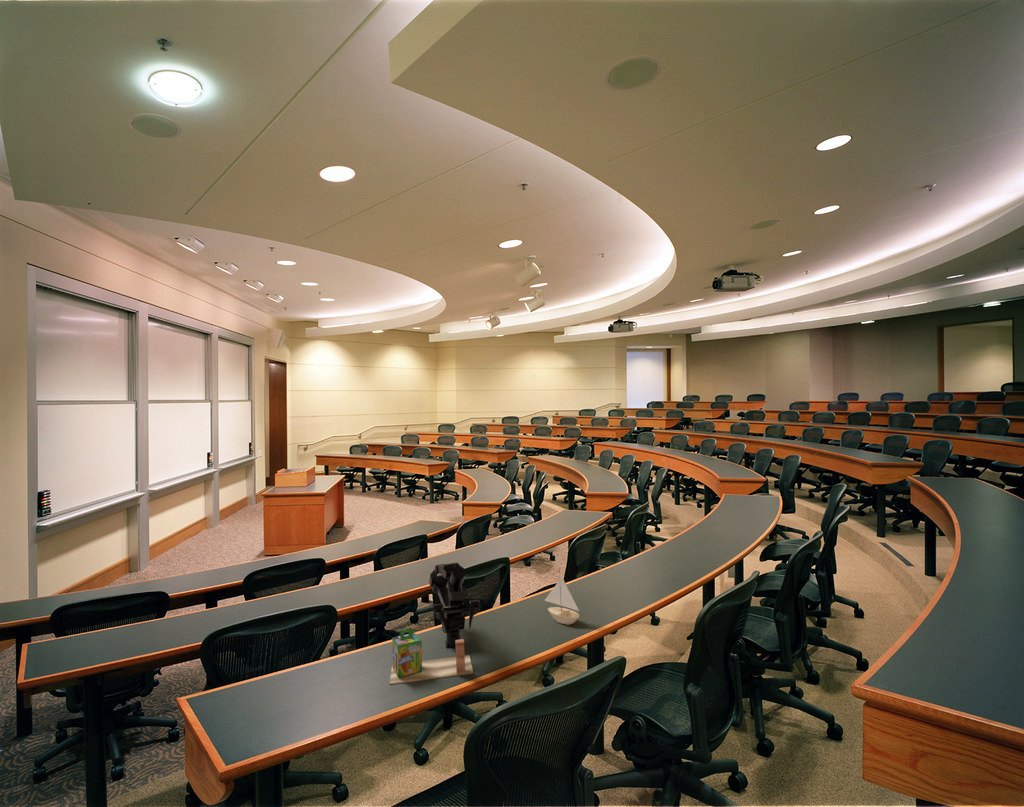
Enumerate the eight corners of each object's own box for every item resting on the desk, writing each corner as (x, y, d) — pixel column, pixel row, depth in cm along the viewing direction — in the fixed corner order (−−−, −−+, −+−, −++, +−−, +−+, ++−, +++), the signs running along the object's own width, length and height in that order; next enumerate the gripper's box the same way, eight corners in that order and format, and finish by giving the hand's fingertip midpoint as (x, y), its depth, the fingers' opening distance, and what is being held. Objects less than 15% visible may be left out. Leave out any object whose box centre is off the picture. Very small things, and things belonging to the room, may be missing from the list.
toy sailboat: (583, 568, 220) (571, 573, 214) (586, 624, 218) (574, 630, 212) (549, 561, 235) (537, 565, 229) (551, 613, 233) (539, 618, 227)
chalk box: (398, 679, 174) (397, 637, 175) (392, 668, 182) (391, 628, 183) (423, 672, 179) (422, 631, 180) (415, 662, 187) (414, 623, 188)
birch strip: (392, 666, 185) (391, 635, 186) (469, 656, 191) (468, 626, 192) (389, 684, 172) (388, 651, 172) (473, 673, 177) (472, 641, 178)
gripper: (432, 584, 191) (433, 623, 179) (478, 579, 194) (483, 617, 183) (432, 597, 198) (433, 636, 186) (477, 593, 201) (481, 630, 190)
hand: (458, 629), depth 186 cm, fingers open, 9 cm apart
